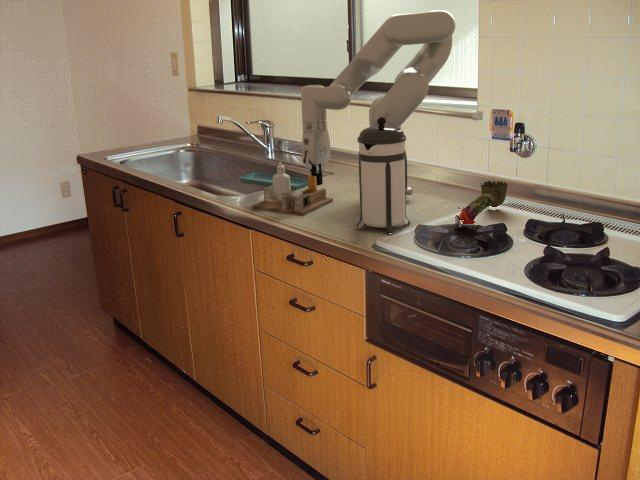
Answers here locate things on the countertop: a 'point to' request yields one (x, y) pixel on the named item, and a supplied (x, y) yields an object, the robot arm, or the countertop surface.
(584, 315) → the countertop surface
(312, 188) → the shaft
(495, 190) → the green flared piece
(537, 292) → the countertop surface
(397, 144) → the coffee press
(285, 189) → the eye dropper bottle
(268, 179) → the shallow long dish
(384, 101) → the robot arm
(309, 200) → the rail board
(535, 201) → the countertop surface
